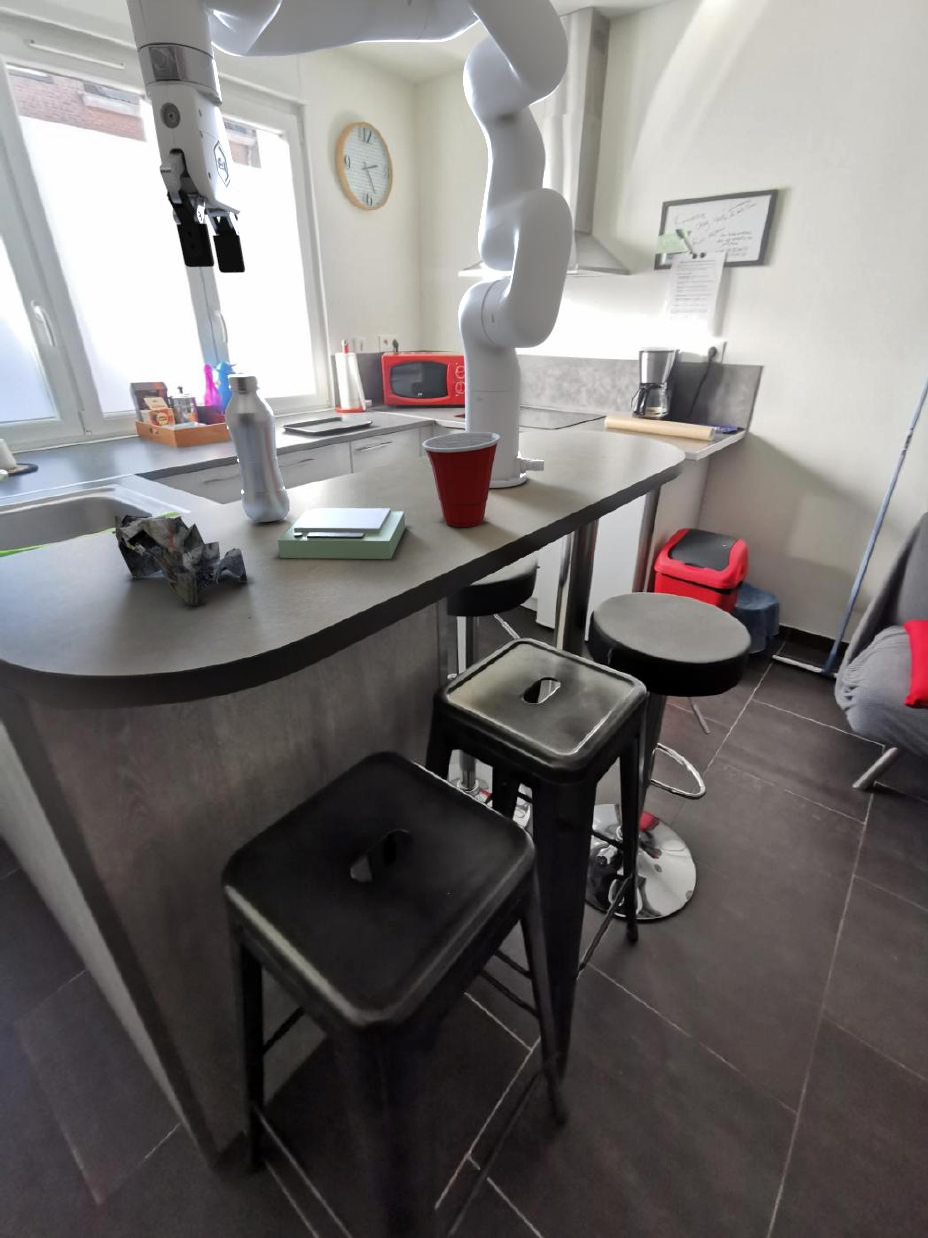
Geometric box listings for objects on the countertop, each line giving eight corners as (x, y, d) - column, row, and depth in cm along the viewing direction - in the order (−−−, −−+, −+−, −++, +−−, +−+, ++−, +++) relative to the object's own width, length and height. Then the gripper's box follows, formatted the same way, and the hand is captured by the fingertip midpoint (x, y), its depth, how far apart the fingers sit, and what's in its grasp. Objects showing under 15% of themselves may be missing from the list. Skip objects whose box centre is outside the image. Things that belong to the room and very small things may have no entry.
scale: (405, 527, 81) (403, 507, 79) (390, 559, 70) (389, 536, 69) (309, 526, 81) (306, 506, 80) (280, 558, 71) (276, 535, 69)
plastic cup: (424, 511, 87) (420, 431, 82) (493, 508, 88) (494, 428, 82) (426, 535, 78) (422, 445, 72) (504, 531, 79) (506, 443, 73)
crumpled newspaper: (121, 598, 53) (95, 483, 59) (150, 650, 62) (125, 546, 68) (248, 569, 58) (212, 464, 64) (258, 621, 67) (226, 526, 73)
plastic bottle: (279, 528, 81) (253, 377, 72) (236, 525, 82) (205, 377, 73) (299, 514, 87) (277, 372, 77) (259, 512, 88) (233, 372, 78)
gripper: (179, 47, 53) (219, 263, 61) (245, 107, 68) (270, 273, 76) (100, 49, 53) (151, 264, 61) (183, 109, 68) (215, 274, 76)
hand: (217, 269), depth 68 cm, fingers open, 9 cm apart
